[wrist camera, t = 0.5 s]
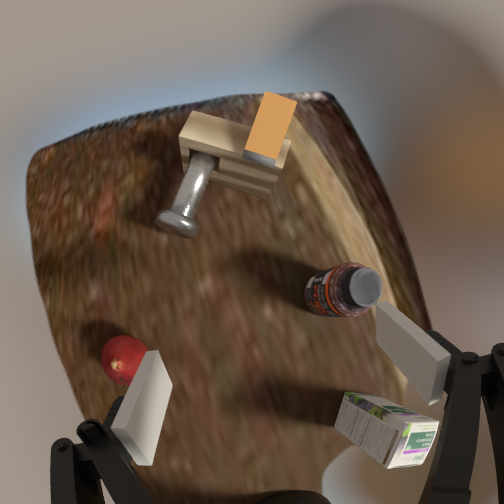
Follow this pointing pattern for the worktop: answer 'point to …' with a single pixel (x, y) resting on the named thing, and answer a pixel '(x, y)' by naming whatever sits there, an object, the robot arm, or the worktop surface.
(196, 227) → the pin
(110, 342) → the onion
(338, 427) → the syrup box
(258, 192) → the block
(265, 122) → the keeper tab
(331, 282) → the supplement bottle
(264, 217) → the worktop surface
